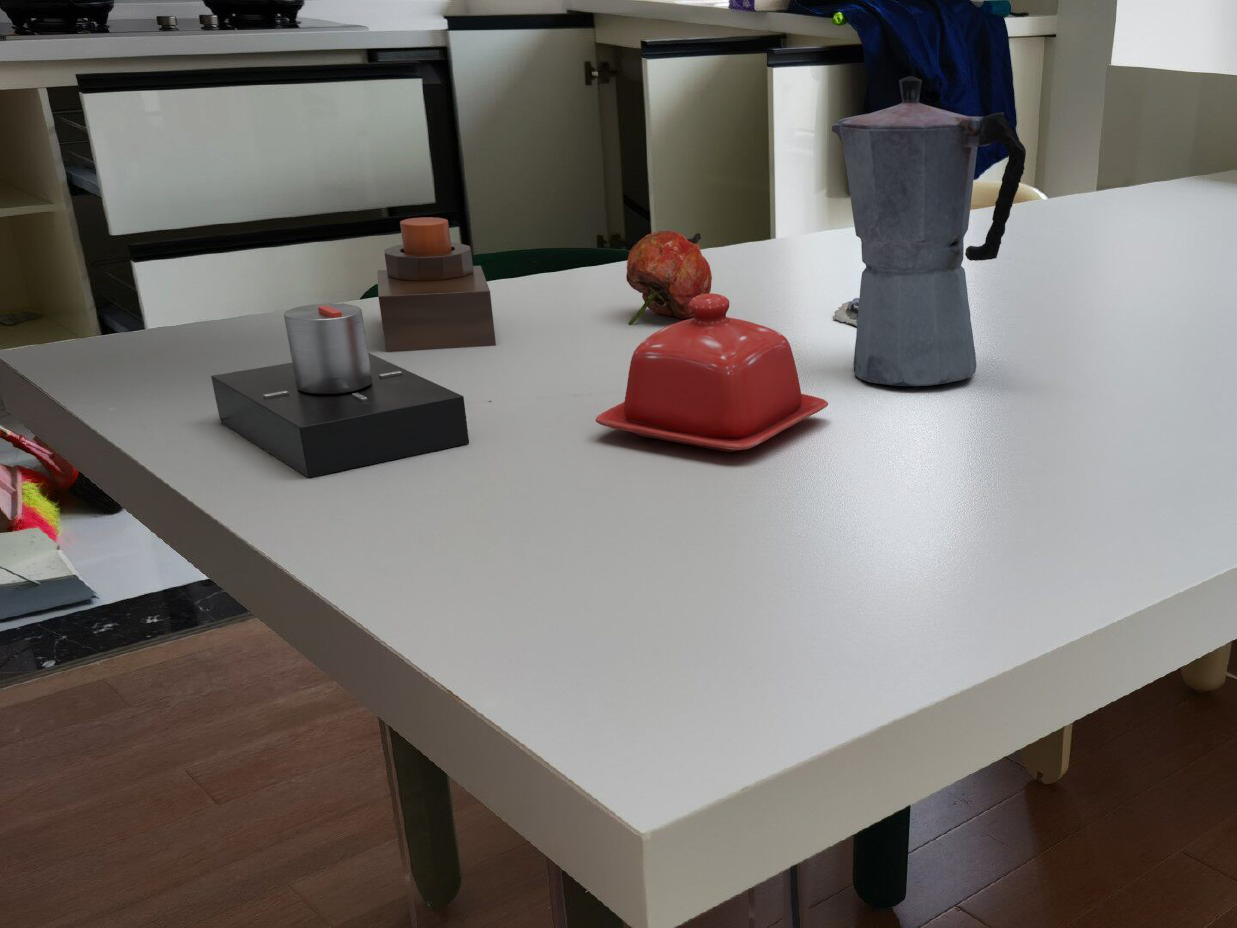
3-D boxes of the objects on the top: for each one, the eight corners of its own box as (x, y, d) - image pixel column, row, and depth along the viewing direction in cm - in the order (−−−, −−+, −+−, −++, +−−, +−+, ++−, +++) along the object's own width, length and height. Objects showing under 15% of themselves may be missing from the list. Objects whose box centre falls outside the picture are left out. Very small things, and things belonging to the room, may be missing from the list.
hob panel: (219, 422, 89) (210, 373, 87) (371, 394, 95) (364, 348, 93) (308, 478, 79) (299, 424, 78) (469, 443, 85) (463, 393, 84)
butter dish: (744, 469, 82) (740, 324, 78) (586, 439, 86) (574, 301, 83) (837, 419, 91) (837, 287, 87) (689, 395, 96) (683, 268, 92)
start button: (453, 257, 109) (449, 223, 108) (404, 259, 108) (400, 225, 107) (450, 249, 112) (446, 216, 111) (403, 251, 111) (399, 218, 110)
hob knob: (285, 383, 86) (271, 304, 84) (354, 371, 88) (342, 294, 86) (313, 398, 83) (300, 317, 81) (384, 386, 86) (373, 307, 83)
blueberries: (914, 308, 121) (914, 286, 120) (913, 330, 114) (914, 306, 113) (836, 306, 121) (836, 284, 120) (830, 328, 114) (830, 304, 113)
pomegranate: (675, 359, 113) (754, 271, 115) (616, 291, 108) (699, 201, 110) (635, 350, 118) (710, 266, 120) (577, 285, 114) (656, 199, 116)
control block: (496, 346, 107) (487, 266, 104) (386, 353, 104) (374, 271, 102) (485, 313, 116) (477, 240, 114) (384, 319, 114) (373, 244, 111)
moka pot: (863, 347, 108) (866, 68, 99) (1044, 377, 101) (1065, 79, 92) (795, 374, 101) (791, 75, 92) (985, 408, 94) (1001, 88, 85)
